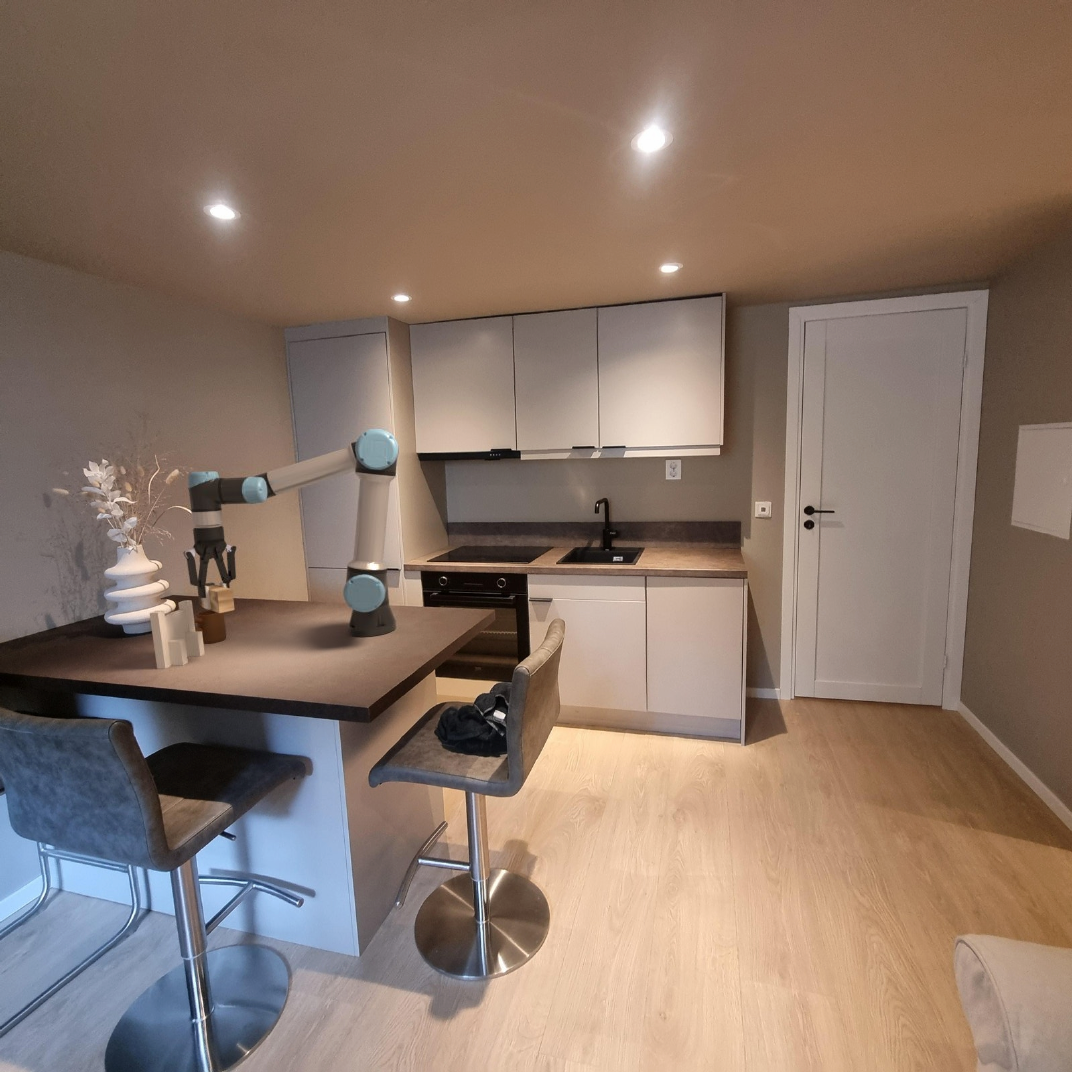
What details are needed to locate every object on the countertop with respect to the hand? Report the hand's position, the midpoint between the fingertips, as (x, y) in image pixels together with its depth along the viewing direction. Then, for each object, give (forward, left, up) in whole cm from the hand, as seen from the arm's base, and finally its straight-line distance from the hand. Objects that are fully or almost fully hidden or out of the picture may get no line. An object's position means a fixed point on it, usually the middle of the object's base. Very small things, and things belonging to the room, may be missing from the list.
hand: (216, 606), depth 163 cm
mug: (+15, -15, -16) cm, 26 cm away
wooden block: (0, 0, 0) cm, 0 cm away
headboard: (+11, +1, -15) cm, 19 cm away
